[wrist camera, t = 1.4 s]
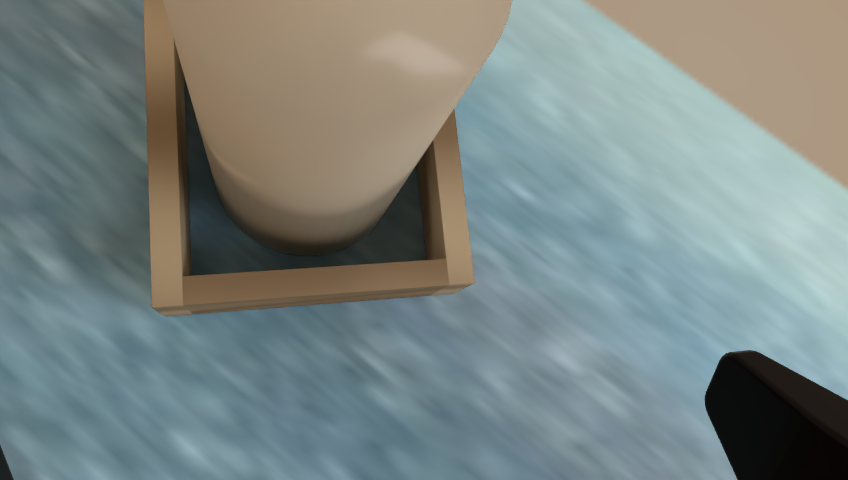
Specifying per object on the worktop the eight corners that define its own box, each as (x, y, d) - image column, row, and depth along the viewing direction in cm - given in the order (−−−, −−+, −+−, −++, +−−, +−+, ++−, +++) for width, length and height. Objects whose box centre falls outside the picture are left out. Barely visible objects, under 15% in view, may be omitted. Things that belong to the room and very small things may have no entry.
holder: (453, 293, 23) (474, 283, 20) (166, 316, 21) (152, 307, 18) (425, 43, 24) (442, 6, 22) (157, 40, 22) (143, -1, 20)
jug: (402, 250, 23) (536, 115, 11) (217, 262, 21) (155, 121, 10) (381, 37, 24) (481, -274, 13) (207, 35, 23) (142, -317, 11)
